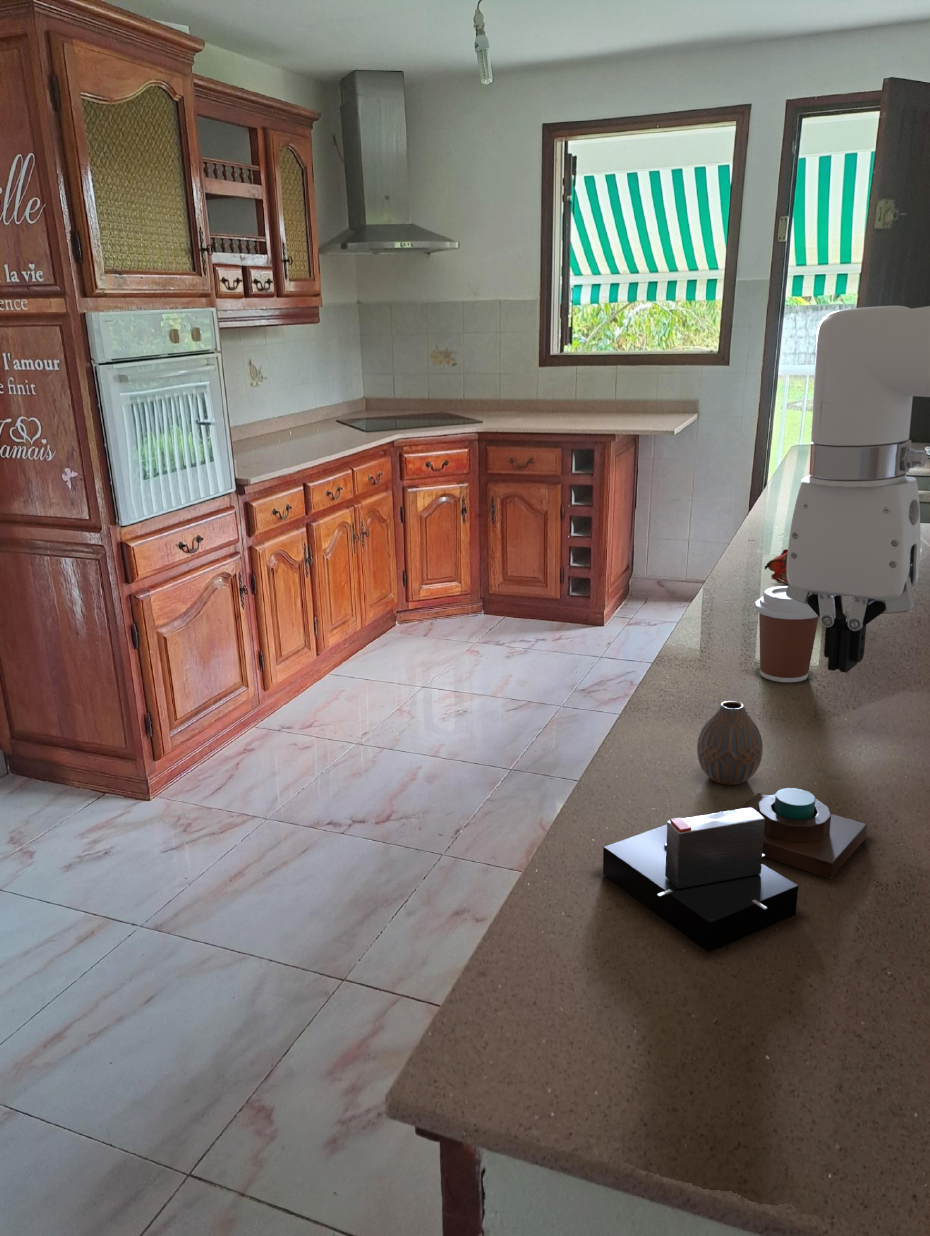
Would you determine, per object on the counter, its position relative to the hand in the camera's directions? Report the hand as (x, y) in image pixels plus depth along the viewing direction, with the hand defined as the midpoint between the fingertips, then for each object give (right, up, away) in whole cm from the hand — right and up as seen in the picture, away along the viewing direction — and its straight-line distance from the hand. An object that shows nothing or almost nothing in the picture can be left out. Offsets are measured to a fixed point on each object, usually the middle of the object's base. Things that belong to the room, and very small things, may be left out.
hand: (842, 666), depth 87 cm
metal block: (-13, -18, -3) cm, 23 cm away
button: (-2, -14, +6) cm, 15 cm away
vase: (-4, -12, +20) cm, 24 cm away
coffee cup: (+13, -1, +49) cm, 50 cm away
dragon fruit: (+31, +15, +89) cm, 95 cm away
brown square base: (-2, -17, +7) cm, 19 cm away
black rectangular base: (-14, -21, 0) cm, 25 cm away
